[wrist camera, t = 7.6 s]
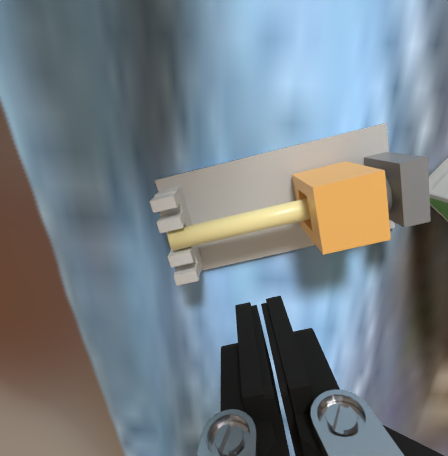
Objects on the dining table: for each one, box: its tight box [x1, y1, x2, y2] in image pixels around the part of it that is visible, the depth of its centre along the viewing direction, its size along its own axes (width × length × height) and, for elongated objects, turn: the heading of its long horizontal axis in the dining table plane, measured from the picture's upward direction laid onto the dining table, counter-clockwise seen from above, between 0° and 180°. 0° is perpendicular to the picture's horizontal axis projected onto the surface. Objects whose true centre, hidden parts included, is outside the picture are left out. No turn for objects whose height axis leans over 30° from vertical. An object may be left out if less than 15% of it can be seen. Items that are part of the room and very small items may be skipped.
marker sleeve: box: [292, 161, 391, 255], centre depth 25 cm, size 5×5×7 cm
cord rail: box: [150, 123, 431, 286], centre depth 27 cm, size 10×22×6 cm, turn 104°
